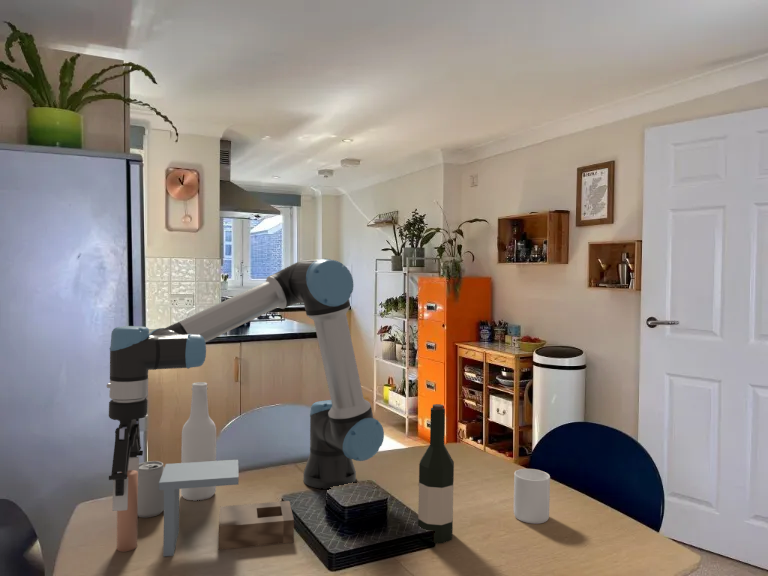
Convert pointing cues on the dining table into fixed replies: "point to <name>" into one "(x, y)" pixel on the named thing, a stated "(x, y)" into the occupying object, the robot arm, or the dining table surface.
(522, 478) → the mug
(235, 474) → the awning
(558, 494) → the dining table surface
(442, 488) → the wine bottle
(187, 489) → the alcohol
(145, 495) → the can
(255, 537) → the socket
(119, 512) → the peg
